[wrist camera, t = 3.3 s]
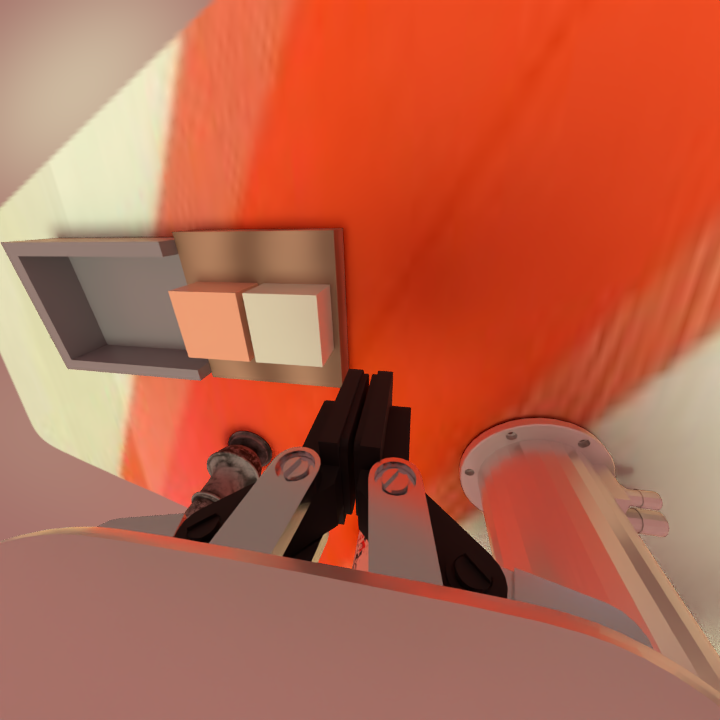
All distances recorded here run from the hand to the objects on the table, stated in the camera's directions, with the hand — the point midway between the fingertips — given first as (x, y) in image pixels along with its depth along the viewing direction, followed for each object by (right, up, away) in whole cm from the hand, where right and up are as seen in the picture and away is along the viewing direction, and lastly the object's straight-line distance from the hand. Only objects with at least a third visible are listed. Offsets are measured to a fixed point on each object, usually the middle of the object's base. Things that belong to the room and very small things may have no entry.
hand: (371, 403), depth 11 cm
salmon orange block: (-10, +5, +12) cm, 17 cm away
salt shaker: (-13, -8, +23) cm, 27 cm away
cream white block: (-5, +5, +11) cm, 13 cm away
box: (-20, +7, +16) cm, 27 cm away
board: (-8, +6, +14) cm, 17 cm away
